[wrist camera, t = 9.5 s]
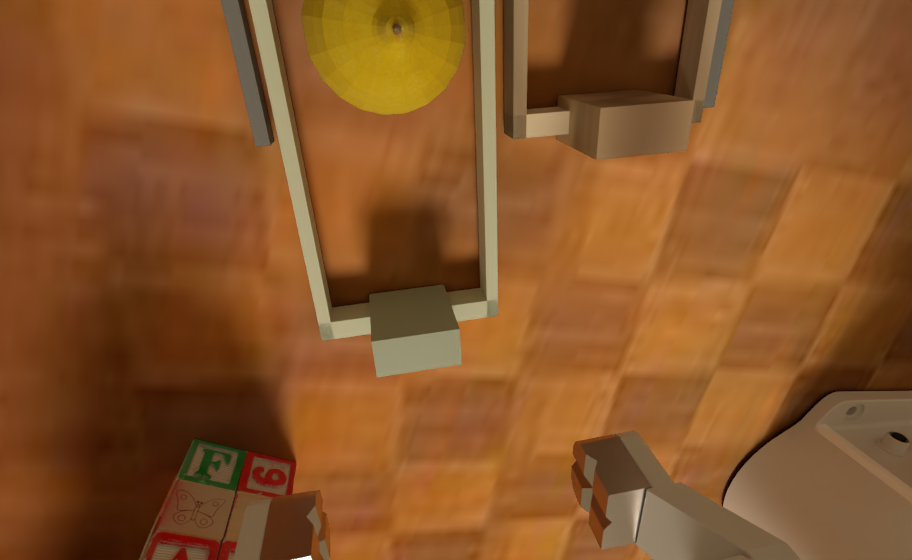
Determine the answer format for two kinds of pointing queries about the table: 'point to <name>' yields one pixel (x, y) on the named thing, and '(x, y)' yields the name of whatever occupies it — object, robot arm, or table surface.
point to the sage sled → (411, 310)
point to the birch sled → (613, 96)
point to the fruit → (385, 49)
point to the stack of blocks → (213, 501)
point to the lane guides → (254, 90)
